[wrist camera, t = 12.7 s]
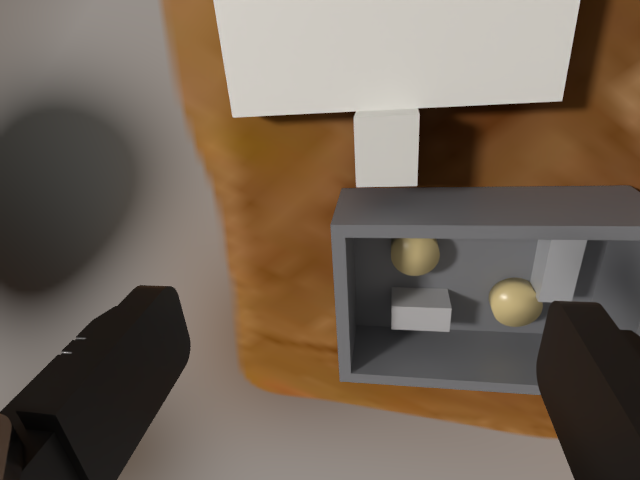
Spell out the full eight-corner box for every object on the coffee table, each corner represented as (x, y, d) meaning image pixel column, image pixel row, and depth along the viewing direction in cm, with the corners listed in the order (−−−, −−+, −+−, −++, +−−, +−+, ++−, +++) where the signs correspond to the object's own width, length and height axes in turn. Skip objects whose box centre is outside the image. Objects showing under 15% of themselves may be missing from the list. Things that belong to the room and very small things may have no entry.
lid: (206, -138, 22) (170, -170, 18) (597, -201, 18) (645, -254, 15) (252, 169, 29) (233, 189, 26) (537, 162, 26) (560, 183, 22)
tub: (341, 188, 29) (330, 224, 23) (630, 185, 26) (691, 226, 20) (347, 326, 34) (339, 381, 29) (586, 337, 31) (626, 400, 26)
